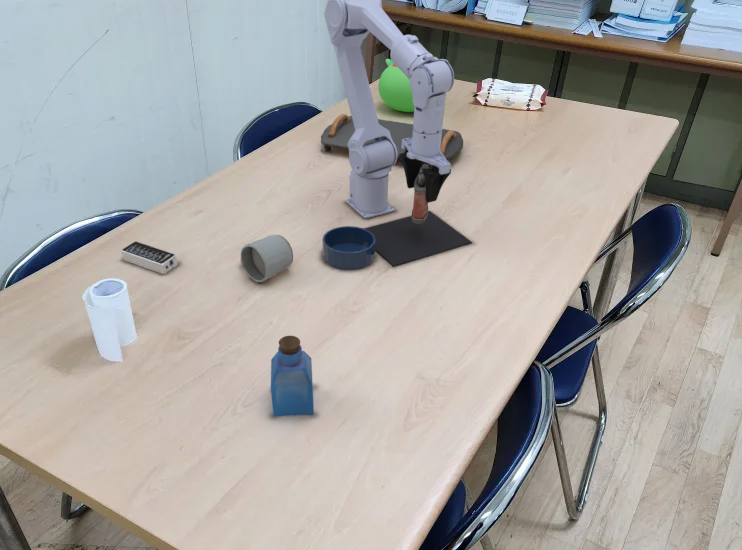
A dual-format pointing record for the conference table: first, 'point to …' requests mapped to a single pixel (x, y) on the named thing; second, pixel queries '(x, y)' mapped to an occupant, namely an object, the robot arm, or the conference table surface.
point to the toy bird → (396, 88)
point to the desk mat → (415, 239)
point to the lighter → (420, 198)
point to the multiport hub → (149, 257)
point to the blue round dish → (348, 247)
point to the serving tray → (345, 129)
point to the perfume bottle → (291, 379)
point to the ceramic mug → (266, 257)
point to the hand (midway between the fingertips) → (421, 193)
